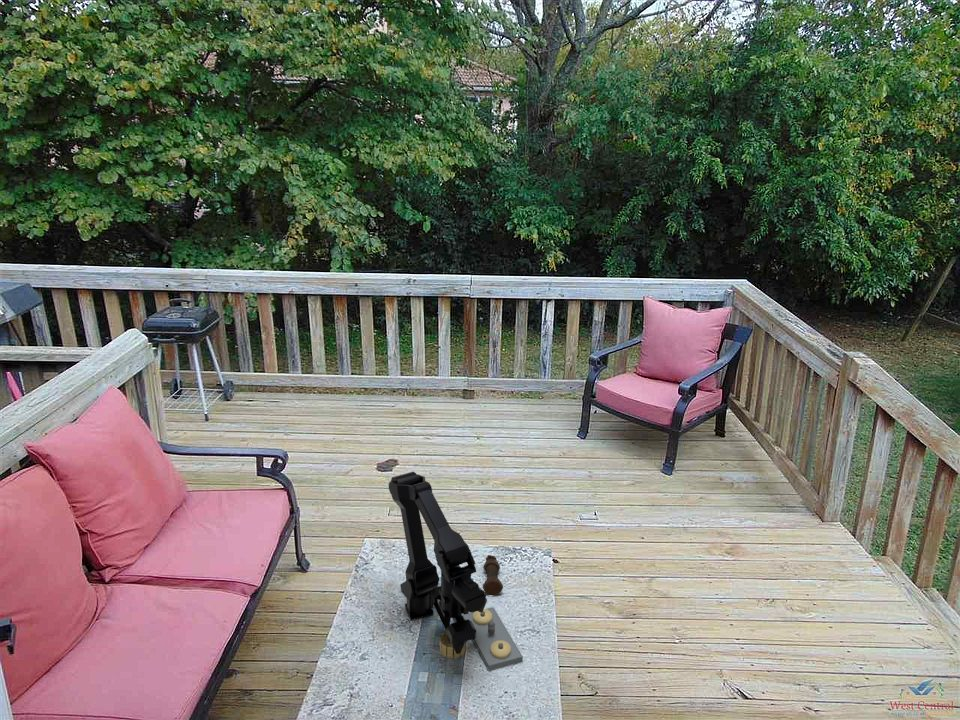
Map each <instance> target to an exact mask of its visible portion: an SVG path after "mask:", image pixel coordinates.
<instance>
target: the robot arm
mask: <svg viewBox="0 0 960 720" xmlns="http://www.w3.org/2000/svg"><path fill="white" fill-rule="evenodd" d="M390 479H391V480H389V482H388V491H389V493H390V495H391V498H392V501H393V502H394V503H395V504H396V505H397V506H398V507H399V508H400V514H401V518H402V519H401V520H402V526H403V531H404V536H405V537H404V538H405V542H406V548H407V553H408V559H409V561H408V564H407V567H406V569H405V581H404V582H402V583H400V585H399V586H400V591H401V593H402V595H403V596H404V597H405V598H406V603H405V604H404V606H405V609H406V611H407V614H408V617H409V619H410V620H411V621H414V620H416V619H417V618H418V619H421V618H427V617H429V616H433V615H434V614H435V613H434V610H433V609H435V611H436V613H437V615H438V617H439V619H440V621H441V624H442V627H443V629H444V630H448V637H449V639H450V641H451V643H452V646H453V648H454V650H455V652H456V654H459V653H461V651H462V648H463V646H464V644H465V642H468V641H473V639H475V638H476V634H477V631H476V629H475V627H474V625H473V623H472V621H470V620H469V619H468V620H464V618H463V616H462V614H464V615H465V614H469V613H471V612H476V611H479V612H483V610H484V609H485V607H486V604H487V602H488V599H487V597H486V596H487V594H486V593H485V591H484V589H483V588H481V587H480V584H478V583H477V582H476V581H474V580H473V579H472V574H475V573H477V567H476V565H475V564H476V563H477V562H475V558H474V556H473V554H472V552H471V549H470V547H469V545H468V543H466V541H465V540H464V538H463V536H462V535H461V534H460V533H459V532H457V531H455V530H453V529H452V528H451V526H450V524H449V522H448V520H447V518H446V517H445V514H444V512H443V511H442V508H441V507H440V504H439V503H438V501H437V499H436V497H435V495H434V493H433V487H432V485H431V483H430V482H428V481H426V477H425V476H423V475H421V474H417V472H415V471H409V472H407V473H406V472H405V473H403V474H400V475H395V476H393V477H391V478H390ZM421 516H422V518H423V520H424V522H425V524H426V526H427V528H428V531H429V532H430V535H431V536H432V539H433V542H434V543H433V552H434V555H435V559H436V563H437V564H436V565H437V566H438V567H439V569H440V577H439V573H438V570H437V566H436V565H435V564H433V563H432V561H430V559H428V553H427V548H426V547H427V546H426V541H425V536H424V529H423V523H422V519H421ZM463 564H466V565H464V566H461V565H463ZM439 583H440V585H439ZM451 619H452V620H453V622H451Z"/></svg>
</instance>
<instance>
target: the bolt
mask: <svg viewBox="0 0 960 720" xmlns="http://www.w3.org/2000/svg"><path fill="white" fill-rule="evenodd" d="M482 568H483V570H484V572H485V573H486V580H485V581H484V583H483V585H482V590H483V591H484V592H485V595H486V596H489V595H493V596H499V595H500V594H501V592H502V591H503V588H504V584H502V581H501V580H500V578H499V576H498V574H499V573H498V572H500V569H501V565H500V564H499V561H498V560H497V557H495V555H490V554H488V555H487V556H486V558H485V562H484V564H483V567H482ZM493 596H492V597H493Z"/></svg>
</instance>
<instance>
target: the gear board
mask: <svg viewBox="0 0 960 720" xmlns="http://www.w3.org/2000/svg"><path fill="white" fill-rule="evenodd" d="M462 616H463V618H464V620H468V619H469V620H470V621H472V623H473V625H474V627H475V629H476V631H477V634H476V638H475V639H473V640H472V641H473V644H475V646H476V649H477V650H478V652H479V653H478V654H480V656H481V658H482V661H483V662H484V665H485V666H486V668H487V670H488V672H489V671H493V670H496V669H500V668H504V667H507V666H512V665H513V664H519V663H523V659H524V658H523V655H522V652H521V651H520V649H519V648H518V646H517V645H516V642H515V641H514V640H513V638H512V636H511V634H510V633H509V631H508V629H507V628H506V626H505V624H504V623H503V621H502V619H501V617H500V616H499V614H498V612H497V611H496V608H495V607H494V606H492V607H488V608H484V610H483V612H479V611H476V612H469V614H465V615H464V614H462Z"/></svg>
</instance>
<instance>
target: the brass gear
mask: <svg viewBox="0 0 960 720" xmlns="http://www.w3.org/2000/svg"><path fill="white" fill-rule="evenodd" d="M466 642H467V641H466ZM466 642H465V644H464V646H463V648H462V651H461V653H459V654H456V652H455V650H454V648H453V646H452V643H451V641H450V639H449V637H448V629H445V630H444V631H443V632H442V633H441V634H440V636H439V652H440V654H441V656H443V657H444V658H446V659H451V660H453V659H455V660H456V659H459V658H460V657H462V656H463V655H464V654H465V653H466Z"/></svg>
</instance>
